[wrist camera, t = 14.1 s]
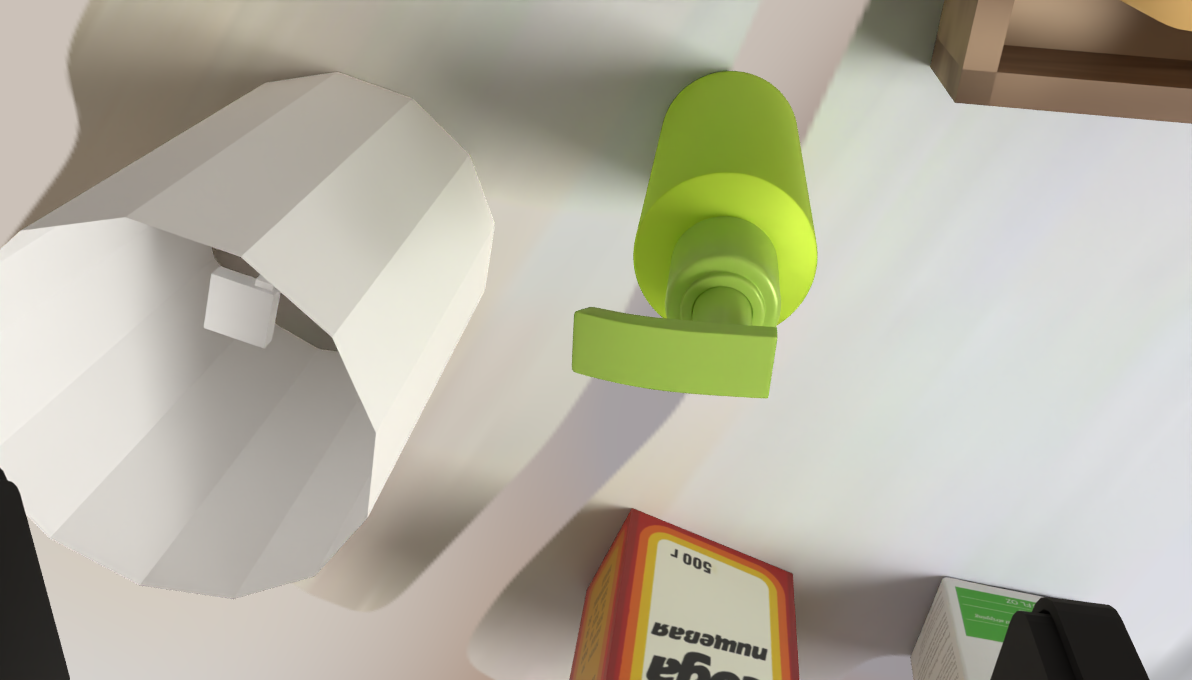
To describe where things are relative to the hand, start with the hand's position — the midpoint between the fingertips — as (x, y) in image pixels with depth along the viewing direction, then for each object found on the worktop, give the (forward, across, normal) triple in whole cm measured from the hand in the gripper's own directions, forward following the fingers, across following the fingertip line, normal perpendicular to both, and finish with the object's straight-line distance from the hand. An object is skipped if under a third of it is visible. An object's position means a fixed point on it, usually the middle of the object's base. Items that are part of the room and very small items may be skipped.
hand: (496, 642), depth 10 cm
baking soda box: (+36, -3, +31) cm, 48 cm away
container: (+37, +15, +12) cm, 42 cm away
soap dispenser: (+36, -2, +6) cm, 37 cm away
